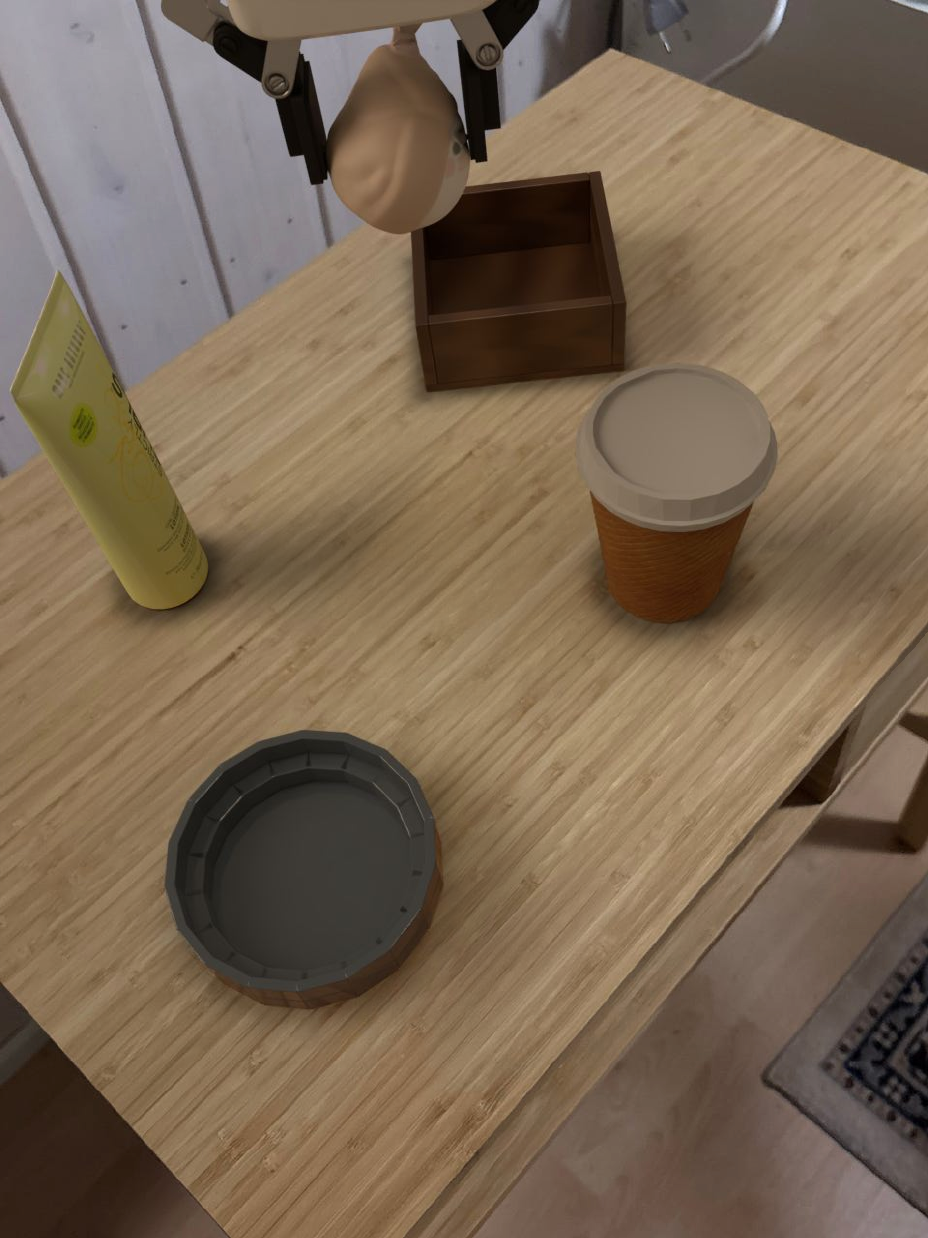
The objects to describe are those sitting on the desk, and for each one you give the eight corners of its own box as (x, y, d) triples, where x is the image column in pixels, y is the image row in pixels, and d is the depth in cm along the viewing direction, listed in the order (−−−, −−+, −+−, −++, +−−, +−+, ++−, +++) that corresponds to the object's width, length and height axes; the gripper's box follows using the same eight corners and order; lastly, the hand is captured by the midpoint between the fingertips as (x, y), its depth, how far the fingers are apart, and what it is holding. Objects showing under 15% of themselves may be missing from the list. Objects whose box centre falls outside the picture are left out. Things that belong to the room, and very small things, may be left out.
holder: (600, 240, 79) (600, 169, 75) (624, 370, 72) (626, 302, 68) (419, 260, 80) (408, 192, 75) (426, 392, 73) (415, 325, 68)
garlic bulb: (510, 201, 51) (497, 24, 44) (407, 279, 48) (376, 106, 42) (407, 146, 54) (380, -27, 47) (306, 218, 51) (262, 47, 45)
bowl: (437, 749, 59) (429, 717, 56) (450, 1001, 52) (441, 980, 49) (197, 771, 60) (177, 741, 57) (177, 1024, 53) (153, 1004, 50)
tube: (231, 587, 66) (113, 333, 50) (153, 635, 65) (6, 389, 48) (185, 527, 69) (59, 267, 52) (110, 572, 67) (-43, 319, 51)
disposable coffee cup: (678, 680, 60) (695, 543, 50) (542, 584, 64) (533, 439, 54) (786, 567, 63) (823, 416, 53) (650, 482, 67) (660, 327, 57)
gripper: (3, -293, 32) (193, 237, 47) (620, -388, 31) (613, 181, 46) (37, -386, 36) (202, 128, 51) (583, -472, 35) (588, 75, 50)
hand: (397, 150), depth 49 cm, fingers closed on garlic bulb, 6 cm apart
